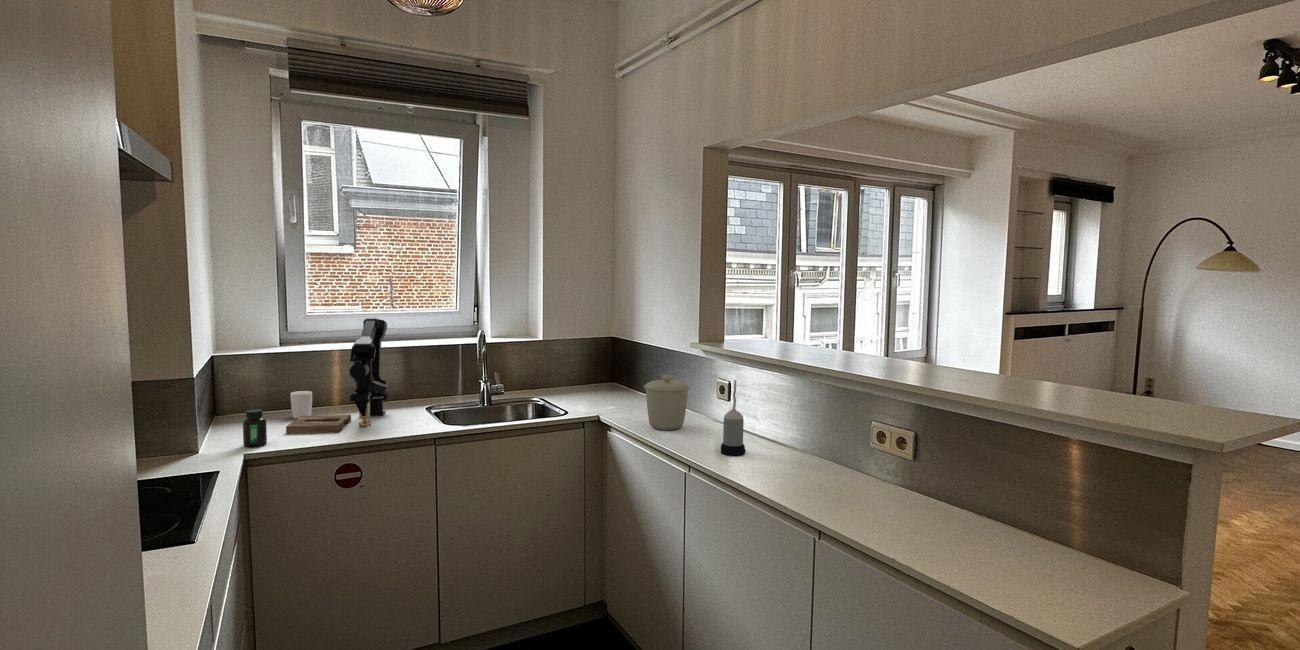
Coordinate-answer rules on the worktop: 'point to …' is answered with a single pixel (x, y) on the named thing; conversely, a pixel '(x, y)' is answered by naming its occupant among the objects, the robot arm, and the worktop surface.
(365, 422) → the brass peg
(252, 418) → the supplement bottle
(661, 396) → the canister
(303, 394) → the white cup
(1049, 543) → the worktop surface
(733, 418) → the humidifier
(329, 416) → the keyhole plate
